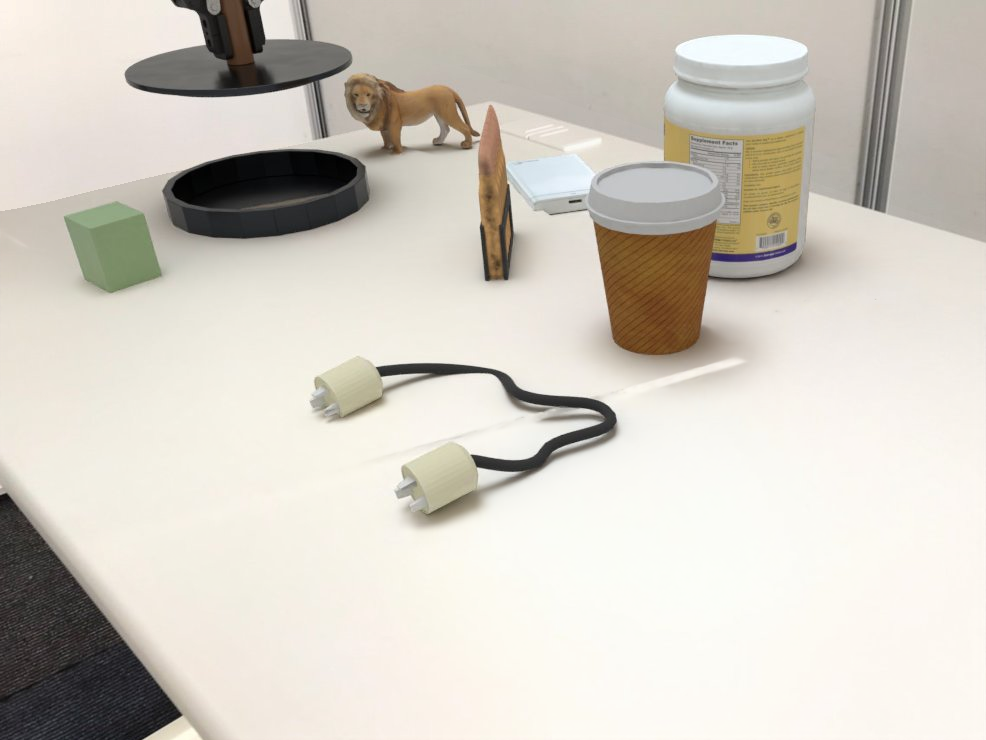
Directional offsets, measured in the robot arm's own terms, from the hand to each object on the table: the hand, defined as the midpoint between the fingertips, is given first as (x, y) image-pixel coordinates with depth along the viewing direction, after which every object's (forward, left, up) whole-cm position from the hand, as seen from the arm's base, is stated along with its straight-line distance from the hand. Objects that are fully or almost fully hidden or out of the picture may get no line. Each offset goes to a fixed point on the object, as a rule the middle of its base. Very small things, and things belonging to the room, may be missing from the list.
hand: (238, 54), depth 94 cm
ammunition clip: (+14, -24, -14) cm, 31 cm away
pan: (0, 0, -14) cm, 14 cm away
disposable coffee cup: (+18, -44, -14) cm, 50 cm away
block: (-15, -12, -14) cm, 24 cm away
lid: (0, 0, -1) cm, 1 cm away
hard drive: (+26, -10, -14) cm, 31 cm away
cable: (+1, -48, -14) cm, 50 cm away
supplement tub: (+32, -33, -14) cm, 48 cm away
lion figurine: (+18, +10, -14) cm, 25 cm away
